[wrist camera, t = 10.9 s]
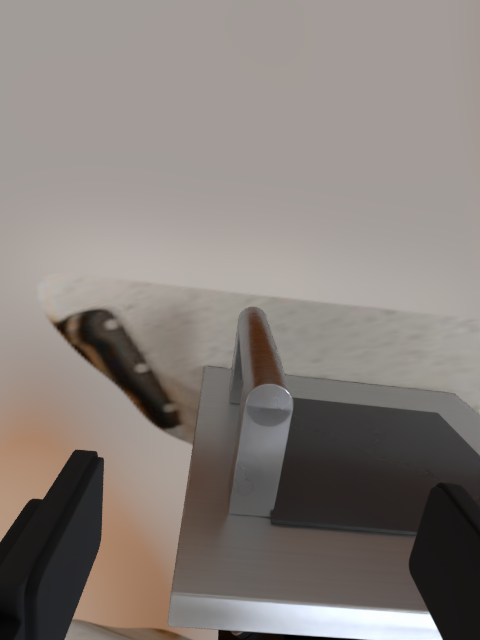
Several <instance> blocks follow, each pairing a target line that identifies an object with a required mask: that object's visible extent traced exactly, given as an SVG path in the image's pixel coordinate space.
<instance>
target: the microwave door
mask: <svg viewBox="0 0 480 640" xmlns="http://www.w3.org/2000/svg"><path fill="white" fill-rule="evenodd" d="M438 483H451V484H459V485H461V486H463V487H464V488H465V490H466V491H467V492H468V493H469V494H470V496H471V497H472V498H473V499H474V500H475V502H476V503H477V504H478V505H479V506H480V415H479V414H478V413H477V412H476V411H474V410H473V409H472V408H471V407H470V406H469V405H467V404H466V403H465V402H464V401H463V400H462V399H460V398H459V397H458V396H457V395H456V394H453V393H444V392H435V391H426V390H417V389H407V388H398V387H389V386H380V385H371V384H362V383H353V382H344V381H335V380H326V379H317V378H307V377H298V376H289V375H285V373H284V370H283V367H282V364H281V361H280V357H279V354H278V351H277V348H276V345H275V342H274V339H273V336H272V332H271V329H270V326H269V323H268V320H267V317H266V314H265V313H264V311H263V310H261V309H260V308H257V307H249V308H246V309H244V310H243V311H242V312H241V314H240V315H239V319H238V326H237V333H236V341H235V348H234V355H233V363H232V369H226V368H217V367H207V366H205V368H204V375H203V381H202V388H201V395H200V402H199V408H198V415H197V422H196V429H195V435H194V442H193V449H192V456H191V462H190V469H189V476H188V483H187V489H186V496H185V502H184V509H183V517H182V523H181V529H180V536H179V543H178V549H177V556H176V563H175V570H174V577H173V583H172V590H171V598H170V607H169V617H168V626H172V627H186V628H201V629H215V630H230V631H244V632H259V633H274V634H288V635H303V636H318V637H332V638H347V639H362V640H443V639H442V637H441V635H440V633H439V631H438V629H437V627H436V625H435V623H434V621H433V619H432V617H431V615H430V613H429V611H428V609H427V607H426V605H425V603H424V601H423V599H422V597H421V595H420V593H419V591H418V589H417V587H416V585H415V582H414V580H413V578H412V576H411V574H410V571H409V558H410V555H411V551H412V548H413V545H414V541H415V538H416V535H417V532H418V528H419V525H420V522H421V518H422V515H423V512H424V509H425V505H426V502H427V499H428V495H429V492H430V490H431V488H433V487H435V486H436V485H437V484H438Z"/></svg>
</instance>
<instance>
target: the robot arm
mask: <svg viewBox="0 0 480 640" xmlns="http://www.w3.org/2000/svg"><path fill="white" fill-rule="evenodd" d="M103 471H104V459H103V458H101V457H98V455H97V452H96V451H85V450H75V451H74V452H73V453H72V455H71V456H70V458H69V460H68V461H67V463H66V464H65V466H64V467H63V469H62V471H61V472H60V474H59V475H58V477H57V478H56V480H55V481H54V483H53V485H52V486H51V488H50V489H49V491H48V493H47V494H46V496H45V497H44V499H43V500H42V499H32V500H30V501H29V502H28V503H27V504H26V505H25V507H24V508H23V510H22V511H21V513H20V514H19V516H18V517H17V519H16V520H15V522H14V523H13V525H12V526H11V527H10V529H9V530H8V532H7V533H6V535H5V536H4V538H3V539H2V541H1V542H0V640H64V639H65V637H66V634H67V631H68V629H69V626H70V624H71V621H72V618H73V616H74V613H75V610H76V608H77V605H78V603H79V600H80V597H81V595H82V592H83V589H84V587H85V584H86V581H87V578H88V576H89V574H90V571H91V568H92V566H93V563H94V561H95V558H96V555H97V553H98V550H99V546H100V541H101V530H102V501H103ZM409 571H410V574H411V576H412V578H413V580H414V582H415V585H416V587H417V589H418V591H419V593H420V595H421V597H422V599H423V601H424V603H425V605H426V607H427V609H428V611H429V613H430V615H431V617H432V619H433V621H434V623H435V625H436V627H437V629H438V631H439V633H440V635H441V637H442V639H443V640H480V506H479V505H478V504H477V503H476V502H475V500H474V499H473V498H472V497H471V496H470V494H469V493H468V492H467V491H466V490H465V488H464V487H463V486H461V485H459V484H451V483H438V484H437V485H436V486H435V487H433V488H431V490H430V492H429V495H428V499H427V502H426V505H425V509H424V512H423V515H422V518H421V522H420V525H419V528H418V532H417V535H416V538H415V541H414V545H413V548H412V551H411V555H410V558H409Z"/></svg>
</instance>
